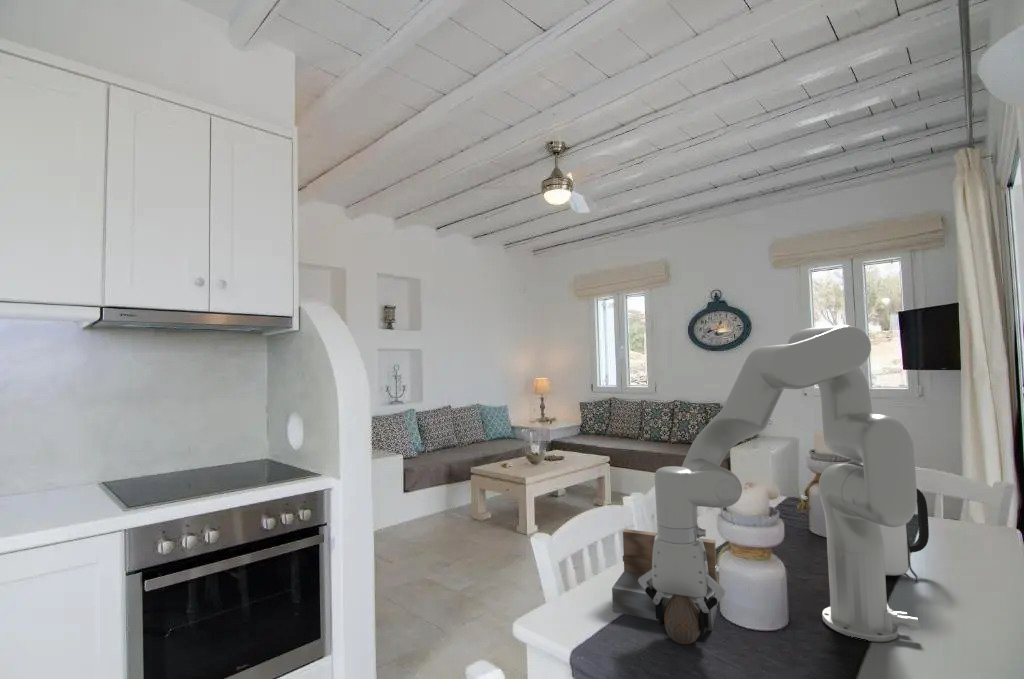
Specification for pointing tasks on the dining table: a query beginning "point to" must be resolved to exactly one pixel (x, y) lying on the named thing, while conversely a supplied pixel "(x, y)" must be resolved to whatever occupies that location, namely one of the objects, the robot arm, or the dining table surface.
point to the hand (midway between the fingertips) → (682, 626)
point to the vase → (682, 619)
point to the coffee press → (903, 539)
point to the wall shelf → (639, 561)
